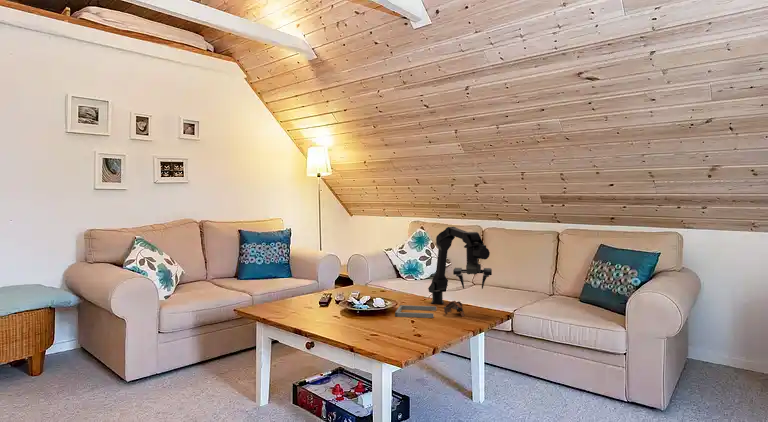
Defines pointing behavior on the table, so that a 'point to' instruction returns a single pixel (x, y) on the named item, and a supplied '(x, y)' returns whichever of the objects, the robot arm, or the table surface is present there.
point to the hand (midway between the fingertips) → (472, 288)
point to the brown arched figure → (454, 307)
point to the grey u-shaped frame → (421, 315)
